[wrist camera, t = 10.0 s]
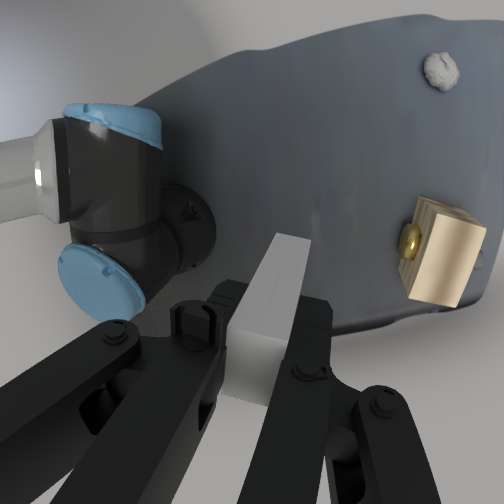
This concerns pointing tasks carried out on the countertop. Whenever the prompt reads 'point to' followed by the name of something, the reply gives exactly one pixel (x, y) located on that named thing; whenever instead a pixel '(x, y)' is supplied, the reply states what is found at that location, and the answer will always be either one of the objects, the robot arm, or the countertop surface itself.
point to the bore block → (441, 253)
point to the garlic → (441, 71)
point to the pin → (412, 240)
